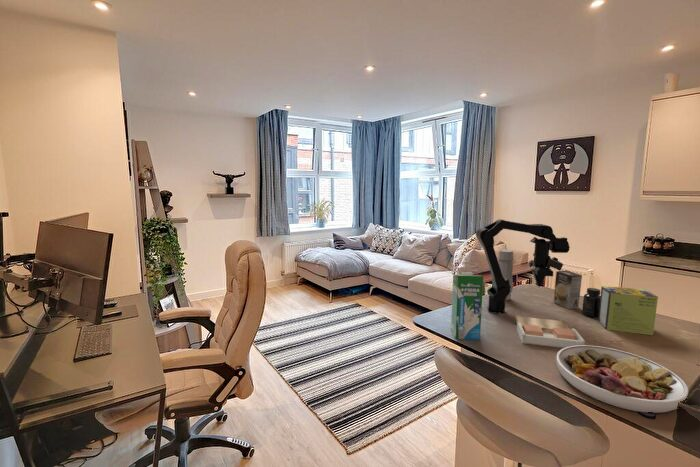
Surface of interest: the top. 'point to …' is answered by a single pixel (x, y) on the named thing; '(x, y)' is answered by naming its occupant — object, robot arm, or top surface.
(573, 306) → the coffee box
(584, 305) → the supplement bottle
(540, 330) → the tile
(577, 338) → the tray
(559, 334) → the tile
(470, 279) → the milk carton
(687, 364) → the top surface
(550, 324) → the oak board
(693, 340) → the top surface
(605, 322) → the protein box
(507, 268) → the water bottle
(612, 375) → the bowl
